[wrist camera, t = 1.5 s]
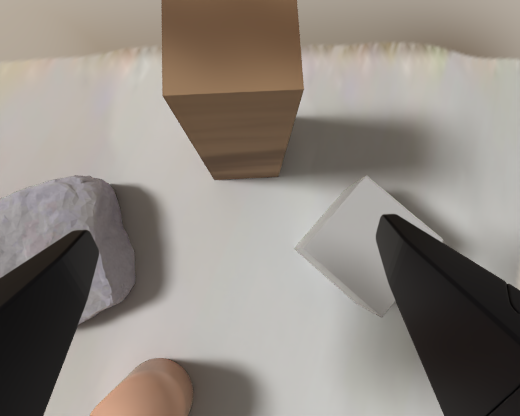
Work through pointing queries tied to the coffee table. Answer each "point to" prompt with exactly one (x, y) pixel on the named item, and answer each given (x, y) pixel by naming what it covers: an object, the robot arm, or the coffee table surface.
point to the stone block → (63, 222)
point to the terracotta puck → (150, 392)
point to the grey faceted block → (356, 244)
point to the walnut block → (233, 80)
